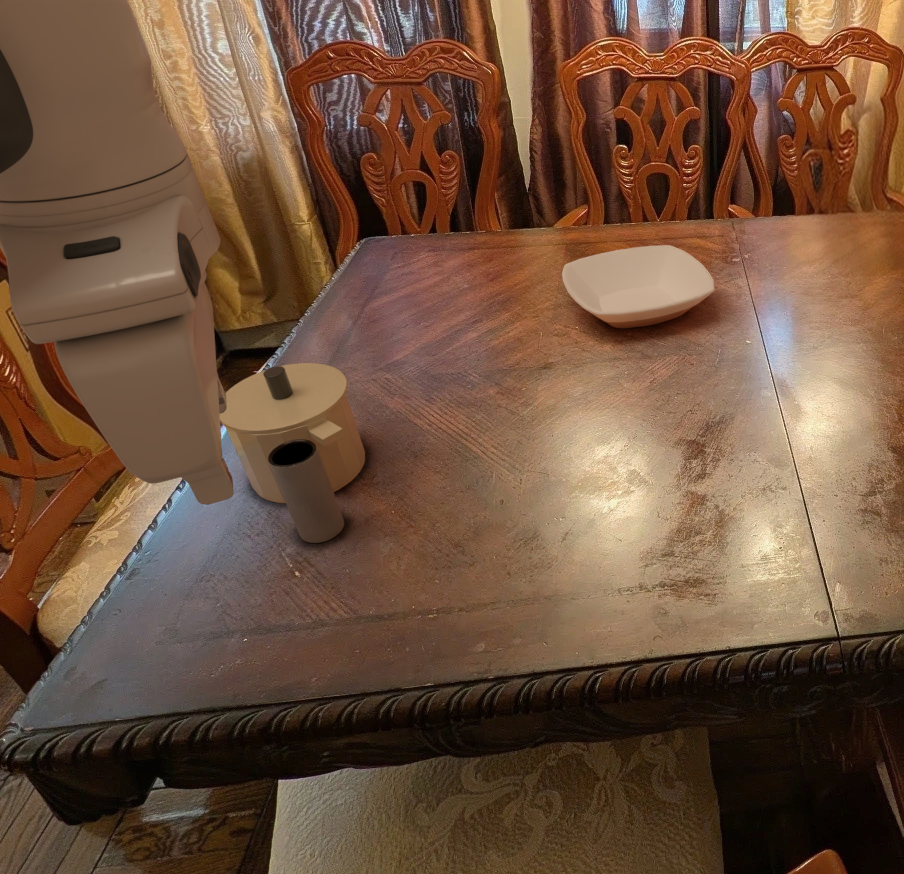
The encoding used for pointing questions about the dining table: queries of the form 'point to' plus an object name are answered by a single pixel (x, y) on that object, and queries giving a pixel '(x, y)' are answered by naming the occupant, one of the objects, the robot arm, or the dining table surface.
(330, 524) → the planter
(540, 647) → the dining table surface
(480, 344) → the dining table surface
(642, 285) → the bowl
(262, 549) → the dining table surface
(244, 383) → the pot lid
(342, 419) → the pot
